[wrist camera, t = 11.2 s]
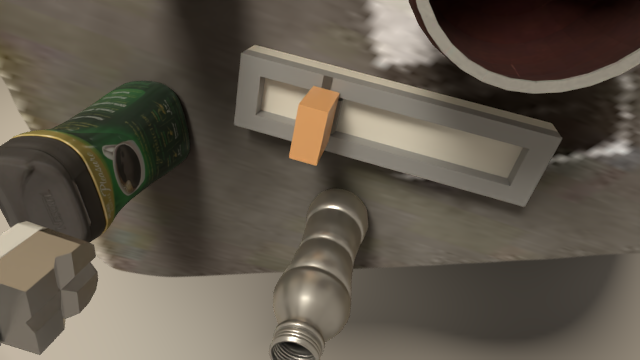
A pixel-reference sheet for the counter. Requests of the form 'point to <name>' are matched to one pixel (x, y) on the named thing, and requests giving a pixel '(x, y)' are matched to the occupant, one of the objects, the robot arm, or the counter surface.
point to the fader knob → (315, 124)
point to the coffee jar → (93, 160)
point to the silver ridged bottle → (319, 277)
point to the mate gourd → (535, 40)
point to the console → (400, 125)
